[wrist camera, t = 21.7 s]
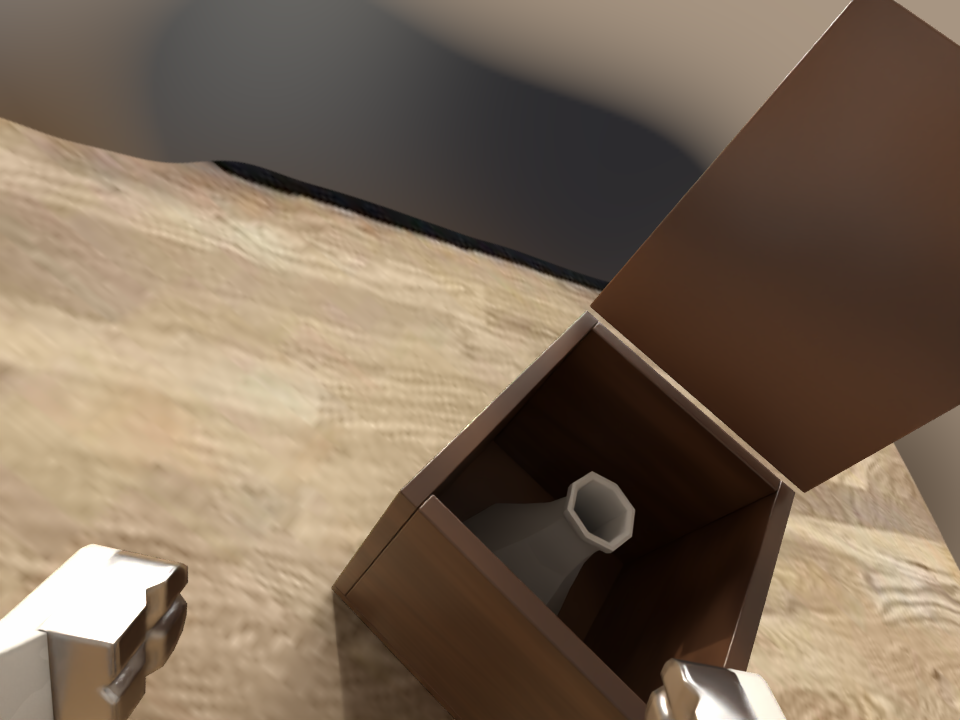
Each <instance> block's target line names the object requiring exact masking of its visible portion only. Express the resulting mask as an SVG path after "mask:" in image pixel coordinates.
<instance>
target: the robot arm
mask: <svg viewBox="0 0 960 720" xmlns="http://www.w3.org/2000/svg"><path fill="white" fill-rule="evenodd" d="M187 583H188V566H186V565H185V564H183V563H179V562H175V561H170V560H166V559H161V558H157V557H152V556H148V555H143V554H139V553H134V552H130V551H125V550H118V549H113V548H109V547H104V546H100V545H95V544H90V545H88V546H85V547H83V548H81V549H79V550H78V551H77V552H76V553H75V554H74V555H73V556H71V557H70V558H69V559H68V560H67V561H66V562H65V563H64V564H63V565H61V566H60V567H59V568H58V569H57V570H56V571H55V572H54V573H52V574H51V575H50V576H49V577H48V578H47V579H46V580H45V581H44V582H42V583H41V584H40V585H39V586H38V587H37V588H36V589H35V590H34V591H32V592H31V593H30V594H29V595H28V596H27V597H26V598H25V599H24V600H22V601H21V602H20V603H19V604H18V605H17V606H16V607H15V608H14V609H12V610H11V611H10V612H9V613H8V614H7V615H6V616H5V617H3V618H2V619H1V620H0V720H127V719H128V718H129V716H130V715H131V713H132V712H133V710H134V709H135V707H136V706H137V704H138V703H139V702H140V700H141V699H142V697H143V696H144V694H145V685H146V676H148V675H149V674H151V673H153V672H154V671H156V670H158V669H160V668H161V667H163V666H164V664H165V663H166V661H167V660H168V658H169V657H170V655H171V654H172V652H173V651H174V649H175V647H176V644H177V642H178V640H179V638H180V636H181V633H182V631H183V628H184V624H185V619H186V615H187V603H186V601H185V600H184V599H183V597H182V596H181V594H180V592H181V591H182V590H183V588H184V587H185V585H186V584H187ZM660 675H661V678H662V681H663V686H662V687H660V688H658V689H657V690H655V691H653V692H652V693H651V695H650V697H649V700H648V703H647V705H646V708H645V719H644V720H786V718H785V716H784V714H783V712H782V710H781V708H780V707H779V705H778V703H777V701H776V699H775V697H774V695H773V693H772V691H771V690H770V688H769V686H768V684H767V682H766V681H765V680H764V679H763V678H762V677H761V676H760V675H759V674H756V673H750V672H745V671H739V670H734V669H726V668H723V667H718V666H712V665H707V664H702V663H696V662H691V661H685V660H680V659H674V658H671V659H669V660H668V661H667V662H666V663H665V664H664V666H663V669H662V671H661V673H660Z"/></svg>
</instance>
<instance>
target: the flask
mask: <svg viewBox="0 0 960 720" xmlns="http://www.w3.org/2000/svg"><path fill="white" fill-rule="evenodd" d="M634 515H635V509H634V508H633V506H632V505H631V503H630V502H629V500H628V499H627V498H626V496H625V495H624V493H623V492H622V491H621V489H620V488H619V486H618V485H617V484H615V483H614V482H612V481H610V480H608V479H606V478H604V477H602V476H600V475H598V474H596V473H595V472H593V471H592V472H590V473H588V474H587V475H585V476H584V477H582V478H580V479H579V480H577V481H575V482H574V483H572V484H571V485H570V486H569V487H568V491H567V496H566V497H563V498H561V499H558V500H555V501H552V502H548V503H529V504H510V503H498V504H494V505H492V506H490V507H488V508H487V509H485V510H483V511H481V512H480V513H478V514H476V515H474V516H473V517H471V518H469V519H467V520H466V521H464V522H462V523H463V524H464V525H465V526H466V527H467V528H468V529H469V530H470V531H471V532H472V533H473V534H474V535H475V536H476V537H477V538H478V539H479V540H480V541H481V542H482V543H483V544H484V545H485V546H486V547H487V548H488V549H489V550H490V551H491V552H492V553H493V554H494V555H495V556H496V557H497V558H498V559H500V560H501V561H502V562H503V563H504V564H505V565H506V566H507V567H508V568H509V569H510V570H511V571H512V572H513V573H514V574H515V575H516V576H517V577H518V578H519V579H520V580H521V581H522V582H523V583H524V584H525V585H526V586H527V587H528V588H529V589H530V590H531V591H532V592H533V593H534V594H535V595H536V596H537V597H538V598H539V599H540V600H541V601H542V602H543V603H544V604H545V605H546V606H547V607H548V608H549V609H550V610H551V611H552V612H553V613H554V614H555V615H556V616H557V615H558V613H559V611H560V609H561V607H562V605H563V603H564V600H565V598H566V596H567V594H568V592H569V589H570V588H571V586H572V584H573V582H574V580H575V578H576V577H577V575H578V573H579V571H580V569H581V568H582V566H583V564H584V562H585V561H586V560H587V559H588V558H589V557H590V556H591V555H592V554H593V553H595V552H596V551H599V550H601V551H603V552H605V553H611V552H613V551H614V550H615V549H617V548H618V547H619V546H621V545H622V544H623V543H624V542H626V541H627V540H628V539H630V538H631V537H632V533H633V524H634Z"/></svg>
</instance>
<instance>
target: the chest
mask: <svg viewBox="0 0 960 720" xmlns="http://www.w3.org/2000/svg"><path fill="white" fill-rule="evenodd" d="M592 471H593V472H595V473H596V474H598V475H600V476H602V477H604V478H606V479H608V480H610V481H612V482H614V483H615V484H617V485H618V486H619V488H620V489H621V491H622V492H623V493H624V495H625V496H626V498H627V499H628V500H629V502H630V503H631V505H632V506H633V508H634V509H635V515H634V524H633V533H632V537H631V538H630V539H628V540H627V541H626V542H624V543H623V544H622V545H621V546H619V547H618V548H617V549H615V550H614V551H613V552H611V553H605V552H603V551H601V550H599V551H596V552H595V553H593V554H592V555H591V556H590V557H589V558H588V559H587V560H586V561H585V562H584V564H583V566H582V568H581V569H580V571H579V573H578V575H577V577H576V578H575V580H574V582H573V584H572V586H571V588H570V589H569V592H568V594H567V596H566V598H565V600H564V603H563V605H562V607H561V609H560V611H559V613H558V615H557V616H556V615H555V614H554V613H553V612H552V611H551V610H550V609H549V608H548V607H547V606H546V605H545V604H544V603H543V602H542V601H541V600H540V599H539V598H538V597H537V596H536V595H535V594H534V593H533V592H532V591H531V590H530V589H529V588H528V587H527V586H526V585H525V584H524V583H523V582H522V581H521V580H520V579H519V578H518V577H517V576H516V575H515V574H514V573H513V572H512V571H511V570H510V569H509V568H508V567H507V566H506V565H505V564H504V563H503V562H502V561H501V560H500V559H498V558H497V557H496V556H495V555H494V554H493V553H492V552H491V551H490V550H489V549H488V548H487V547H486V546H485V545H484V544H483V543H482V542H481V541H480V540H479V539H478V538H477V537H476V536H475V535H474V534H473V533H472V532H471V531H470V530H469V529H468V528H467V527H466V526H465V525H464V524H463V523H462V522H464V521H466V520H467V519H469V518H471V517H473V516H474V515H476V514H478V513H480V512H481V511H483V510H485V509H487V508H488V507H490V506H492V505H494V504H498V503H510V504H529V503H548V502H552V501H555V500H558V499H561V498H563V497H566V496H567V491H568V487H569V486H570V485H571V484H572V483H574V482H575V481H577V480H579V479H580V478H582V477H584V476H585V475H587V474H588V473H590V472H592ZM794 495H795V492H794V491H793V490H792V489H791V488H789V487H788V486H787V485H786V484H785V483H784V482H783V481H780V479H779V478H778V477H776V476H775V475H774V474H773V473H772V472H771V471H770V470H768V469H767V468H766V467H765V466H764V465H763V464H761V463H760V462H759V461H758V460H757V459H756V458H755V457H753V456H752V455H751V454H750V453H749V452H748V451H747V450H745V449H744V448H743V447H742V446H741V445H740V444H739V443H737V442H736V441H735V440H734V439H733V438H732V437H731V436H729V435H728V434H727V433H726V432H725V431H724V430H723V429H721V428H720V427H719V426H718V425H717V424H716V423H715V422H713V421H712V420H711V419H710V418H709V417H708V416H707V415H705V414H704V413H703V412H702V411H701V410H700V409H699V408H697V407H696V406H695V405H694V404H693V403H692V402H690V401H689V400H688V399H687V398H686V397H685V396H684V395H682V394H681V393H680V392H679V391H678V390H677V389H676V388H674V387H673V386H672V385H671V384H670V383H669V382H668V381H666V380H665V379H664V378H663V377H662V376H661V375H660V374H658V373H657V372H656V371H655V370H654V369H653V368H652V367H650V366H649V365H648V364H647V363H646V362H645V361H644V360H642V359H641V358H640V357H639V356H638V355H637V354H636V353H634V352H633V351H632V350H631V349H630V348H629V347H628V346H626V345H625V344H624V343H623V342H622V341H621V340H620V339H618V338H617V337H616V336H615V335H614V334H613V333H611V332H610V331H609V330H608V329H607V328H606V327H605V326H603V325H602V324H601V323H600V322H598V320H597V319H596V318H595V317H594V316H592V315H591V314H590V313H589V312H588V311H585V312H584V313H583V314H582V315H581V316H580V317H579V318H578V319H577V320H576V321H575V322H574V323H573V324H572V325H571V326H570V327H569V328H568V329H567V330H566V331H565V332H564V333H563V334H562V335H561V336H560V337H558V338H557V339H556V340H555V341H554V342H553V343H552V344H551V345H550V346H549V347H548V348H547V349H546V350H545V351H544V352H543V353H542V354H541V355H540V356H539V357H538V358H537V359H536V360H535V361H534V362H533V363H532V364H531V365H529V366H528V367H527V368H526V369H525V370H524V371H523V372H522V373H521V374H520V375H519V376H518V377H517V378H516V379H515V380H514V381H513V382H512V383H511V384H510V385H509V386H508V387H507V388H506V389H505V390H504V391H503V392H501V393H500V394H499V395H498V396H497V397H496V398H495V399H494V400H493V401H492V402H491V403H490V404H489V405H488V406H487V407H486V408H485V409H484V410H483V411H482V412H481V413H480V414H479V415H478V416H477V417H476V418H475V419H474V420H472V421H471V422H470V423H469V424H468V425H467V426H466V427H465V428H464V429H463V430H462V431H461V432H460V433H459V434H458V435H457V436H456V437H455V438H454V439H453V440H452V441H451V442H450V443H449V444H448V445H447V446H446V447H444V448H443V449H442V450H441V451H440V452H439V453H438V454H437V455H436V456H435V457H434V458H433V459H432V460H431V461H430V462H429V463H428V464H427V465H426V466H425V467H424V468H423V469H422V470H421V471H420V472H419V473H418V474H417V475H415V476H414V477H413V478H412V479H411V480H410V481H409V482H408V483H407V484H406V485H405V486H404V487H403V488H402V489H401V490H400V491H399V493H398V494H397V495H396V497H395V498H394V500H393V501H392V502H391V504H390V505H389V507H388V508H387V510H386V511H385V512H384V514H383V515H382V517H381V518H380V519H379V521H378V522H377V524H376V525H375V526H374V528H373V529H372V531H371V532H370V534H369V535H368V536H367V538H366V539H365V541H364V542H363V543H362V545H361V546H360V548H359V549H358V550H357V552H356V553H355V555H354V556H353V558H352V559H351V560H350V562H349V563H348V565H347V566H346V567H345V569H344V570H343V572H342V573H341V575H340V576H339V577H338V579H337V580H336V582H335V583H334V585H333V586H332V589H333V591H334V592H335V593H336V594H337V595H338V596H339V597H340V598H341V599H342V600H343V601H344V602H345V603H346V604H347V605H348V606H349V607H350V609H351V610H352V611H353V612H354V613H355V614H356V615H357V616H358V617H359V618H360V619H361V620H362V621H363V622H364V623H365V624H366V625H367V627H368V628H369V629H370V630H371V631H372V632H373V633H374V634H375V635H376V636H377V637H378V638H379V639H380V640H381V641H382V642H383V643H384V645H385V646H386V647H387V648H388V649H389V650H390V651H391V652H392V653H393V654H394V655H395V656H396V657H397V658H398V659H399V660H400V662H401V663H402V664H403V665H404V666H405V667H406V668H407V669H408V670H409V671H410V672H411V673H412V674H413V675H414V676H415V677H416V678H417V680H418V681H419V682H420V683H421V684H422V685H423V686H424V687H425V688H426V689H427V690H428V691H429V692H430V693H431V694H432V695H433V696H434V698H435V699H436V700H437V701H438V702H439V703H440V704H441V705H442V706H443V707H444V708H445V709H446V710H447V711H448V712H449V713H450V714H451V716H452V717H453V718H454V719H455V720H644V719H645V708H646V705H647V703H648V700H649V697H650V695H651V693H652V692H653V691H655V690H657V689H658V688H660V687H662V686H663V681H662V678H661V675H660V673H661V671H662V669H663V666H664V664H665V663H666V662H667V661H668V660H669V659H671V658H674V659H680V660H685V661H691V662H696V663H702V664H707V665H712V666H718V667H723V668H726V669H734V670H739V671H745V672H746V670H747V666H748V663H749V659H750V655H751V652H752V648H753V644H754V641H755V637H756V634H757V630H758V626H759V623H760V619H761V615H762V612H763V608H764V604H765V601H766V597H767V593H768V590H769V586H770V583H771V579H772V575H773V572H774V568H775V564H776V561H777V557H778V553H779V550H780V546H781V542H782V539H783V535H784V532H785V528H786V524H787V521H788V517H789V513H790V510H791V506H792V502H793V499H794Z"/></svg>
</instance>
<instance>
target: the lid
mask: <svg viewBox="0 0 960 720" xmlns="http://www.w3.org/2000/svg"><path fill="white" fill-rule="evenodd" d="M590 307H591V308H592V309H594V310H595V311H596V312H597V313H598V314H599V315H600V316H602V317H603V318H604V319H605V320H606V321H607V322H608V323H610V324H611V325H612V326H613V327H614V328H615V329H616V330H618V331H619V332H620V333H621V334H622V335H623V336H625V337H626V338H627V339H628V340H629V341H630V342H631V343H633V344H634V345H635V346H636V347H637V348H638V349H639V350H641V351H642V352H643V353H644V354H645V355H646V356H647V357H649V358H650V359H651V360H652V361H653V362H654V363H656V364H657V365H658V366H659V367H660V368H661V369H662V370H664V371H665V372H666V373H667V374H668V375H669V376H670V377H672V378H673V379H674V380H675V381H676V382H677V383H678V384H680V385H681V386H682V387H683V388H684V389H685V390H687V391H688V392H689V393H690V394H691V395H692V396H693V397H695V398H696V399H697V400H698V401H699V402H700V403H701V404H703V405H704V406H705V407H706V408H707V409H708V410H709V411H711V412H712V413H713V414H714V415H715V416H716V417H718V418H719V419H720V420H721V421H722V422H723V423H724V424H726V425H727V426H728V427H729V428H730V429H731V430H732V431H734V432H735V433H736V434H737V435H738V436H739V437H741V438H742V439H743V440H744V441H745V442H746V443H747V444H749V445H750V446H751V447H752V448H753V449H754V450H755V451H757V452H758V453H759V454H760V455H761V456H762V457H763V458H765V459H766V460H767V461H768V462H769V463H770V464H772V465H773V466H774V467H775V468H776V469H777V470H778V471H780V472H781V473H782V474H783V475H784V476H785V477H786V478H788V479H789V480H790V481H791V482H792V483H793V484H794V485H796V486H797V487H798V488H799V489H800V490H801V491H803V492H804V493H805V492H807V491H809V490H811V489H812V488H814V487H816V486H818V485H819V484H821V483H823V482H825V481H826V480H828V479H830V478H832V477H833V476H835V475H837V474H839V473H840V472H842V471H844V470H846V469H847V468H849V467H851V466H853V465H855V464H856V463H858V462H860V461H862V460H863V459H865V458H867V457H869V456H870V455H872V454H874V453H876V452H877V451H879V450H881V449H883V448H884V447H886V446H888V445H890V444H891V443H893V442H895V441H897V440H898V439H900V438H902V437H904V436H905V435H907V434H909V433H911V432H912V431H914V430H916V429H918V428H920V427H921V426H923V425H925V424H927V423H928V422H930V421H931V420H934V419H935V418H937V417H939V416H941V415H942V414H944V413H946V412H948V411H949V410H951V409H953V408H955V407H956V406H958V405H960V46H959V45H958V44H956V43H955V42H953V41H952V40H951V39H949V38H947V37H946V36H945V35H943V34H942V33H941V32H939V31H938V30H936V29H935V28H933V27H932V26H930V25H929V24H927V23H926V22H925V21H923V20H922V19H920V18H919V17H917V16H916V15H915V14H913V13H912V12H910V11H909V10H907V9H906V8H904V7H903V6H902V5H900V4H899V3H897V2H896V1H894V0H852V1H851V2H850V3H849V4H848V6H847V7H846V8H845V9H844V10H843V11H842V13H841V14H840V15H839V16H838V17H837V18H836V20H835V21H834V22H833V23H832V24H831V26H830V27H829V28H828V29H827V30H826V31H825V32H824V33H823V35H822V36H821V37H820V38H819V39H818V40H817V42H816V43H815V44H814V45H813V46H812V48H811V49H810V50H809V51H808V52H807V53H806V55H805V56H804V57H803V58H802V59H801V60H800V61H799V63H798V64H797V65H796V66H795V67H794V68H793V70H792V71H791V72H790V73H789V74H788V75H787V77H786V78H785V79H784V80H783V81H782V82H781V84H780V85H779V86H778V87H777V88H776V89H775V91H774V92H773V93H772V94H771V95H770V96H769V98H768V99H767V100H766V101H765V102H764V103H763V105H762V106H761V107H760V108H759V109H758V110H757V112H756V113H755V114H754V115H753V116H752V118H751V119H750V120H749V121H748V122H747V123H746V124H745V126H744V127H743V128H742V129H741V130H740V131H739V133H738V134H737V135H736V136H735V137H734V138H733V140H732V141H731V142H730V143H729V144H728V145H727V147H726V148H725V149H724V150H723V151H722V152H721V154H720V155H719V156H718V157H717V158H716V159H715V160H714V162H713V163H712V164H711V165H710V166H709V167H708V169H707V170H706V171H705V172H704V173H703V175H702V176H701V177H700V178H699V179H698V180H697V181H696V183H695V184H694V185H693V186H692V187H691V188H690V190H689V191H688V192H687V193H686V194H685V195H684V197H683V198H682V199H681V200H680V201H679V202H678V204H677V205H676V206H675V207H674V208H673V209H672V211H671V212H670V213H669V214H668V215H667V216H666V218H665V219H664V220H663V221H662V222H661V223H660V225H659V226H658V227H657V228H656V229H655V230H654V232H653V233H652V234H651V235H650V236H649V237H648V239H647V240H646V241H645V242H644V243H643V244H642V246H641V247H640V248H639V249H638V250H637V251H636V253H635V254H634V255H633V256H632V257H631V258H630V260H629V261H628V262H627V263H626V264H625V266H623V268H622V269H621V270H620V271H619V273H617V275H616V276H615V277H614V278H613V280H611V282H610V283H609V284H608V285H607V286H606V287H605V289H604V290H603V291H602V292H601V293H600V294H599V296H598V297H597V298H596V299H595V300H594V301H593V303H592V304H591V305H590Z"/></svg>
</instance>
